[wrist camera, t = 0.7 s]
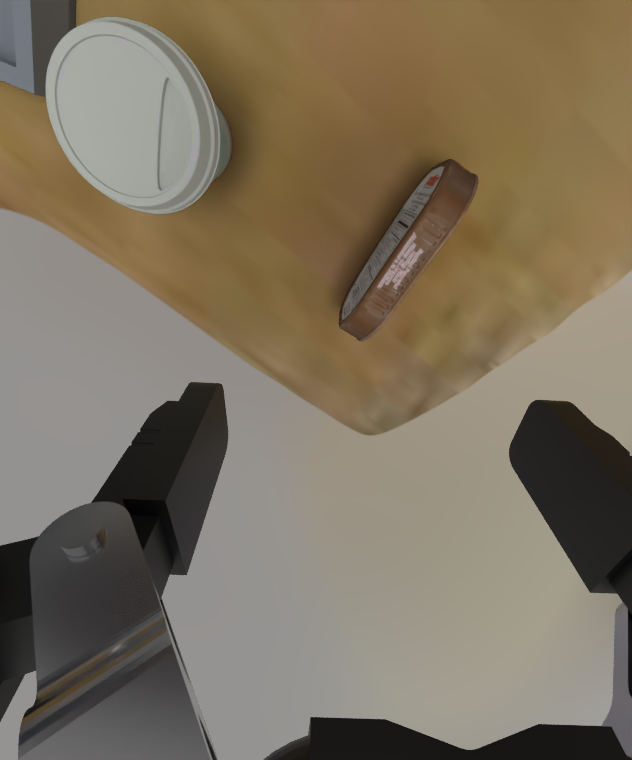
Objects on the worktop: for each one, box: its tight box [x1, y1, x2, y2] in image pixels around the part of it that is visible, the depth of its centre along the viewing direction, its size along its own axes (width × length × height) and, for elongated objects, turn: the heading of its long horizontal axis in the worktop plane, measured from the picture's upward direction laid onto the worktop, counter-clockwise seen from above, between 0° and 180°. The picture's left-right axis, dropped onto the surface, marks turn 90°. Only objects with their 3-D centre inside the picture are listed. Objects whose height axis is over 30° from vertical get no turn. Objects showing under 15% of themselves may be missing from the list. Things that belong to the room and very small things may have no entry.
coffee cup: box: [45, 17, 232, 214], centre depth 22 cm, size 8×8×12 cm
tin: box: [339, 159, 478, 341], centre depth 28 cm, size 15×3×8 cm, turn 149°
